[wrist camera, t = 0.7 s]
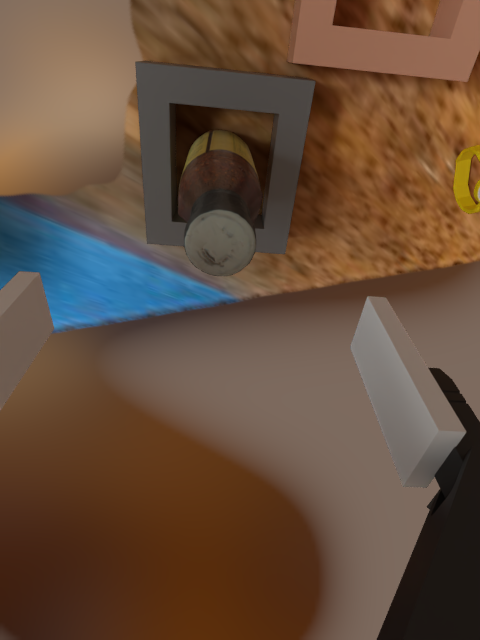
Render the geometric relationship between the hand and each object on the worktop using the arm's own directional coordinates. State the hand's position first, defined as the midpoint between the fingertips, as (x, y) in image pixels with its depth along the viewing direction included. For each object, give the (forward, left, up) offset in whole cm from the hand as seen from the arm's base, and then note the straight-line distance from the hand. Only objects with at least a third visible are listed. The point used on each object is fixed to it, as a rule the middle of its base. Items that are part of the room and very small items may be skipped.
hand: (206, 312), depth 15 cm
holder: (0, 0, -26) cm, 26 cm away
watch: (+24, +1, -26) cm, 35 cm away
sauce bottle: (0, 0, -26) cm, 26 cm away
